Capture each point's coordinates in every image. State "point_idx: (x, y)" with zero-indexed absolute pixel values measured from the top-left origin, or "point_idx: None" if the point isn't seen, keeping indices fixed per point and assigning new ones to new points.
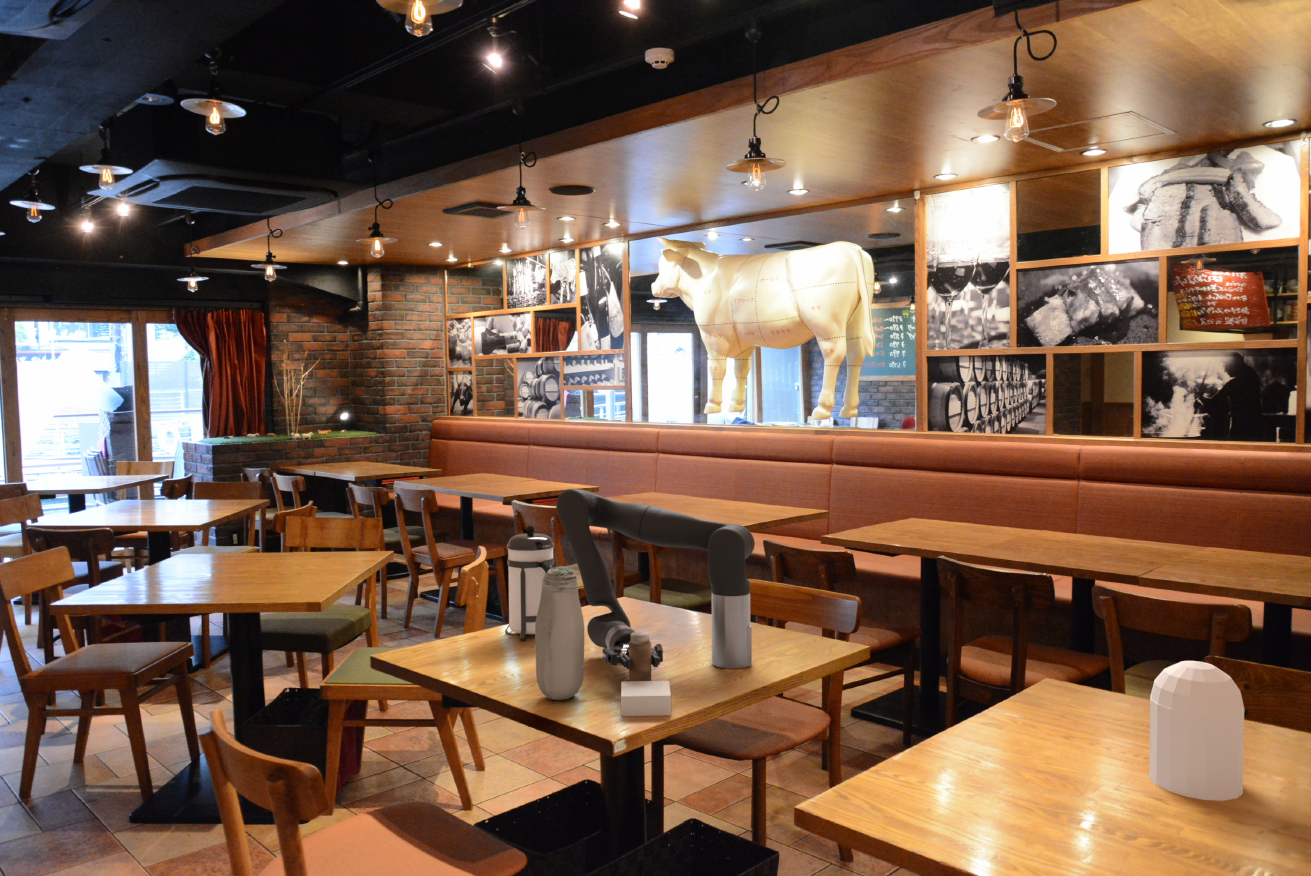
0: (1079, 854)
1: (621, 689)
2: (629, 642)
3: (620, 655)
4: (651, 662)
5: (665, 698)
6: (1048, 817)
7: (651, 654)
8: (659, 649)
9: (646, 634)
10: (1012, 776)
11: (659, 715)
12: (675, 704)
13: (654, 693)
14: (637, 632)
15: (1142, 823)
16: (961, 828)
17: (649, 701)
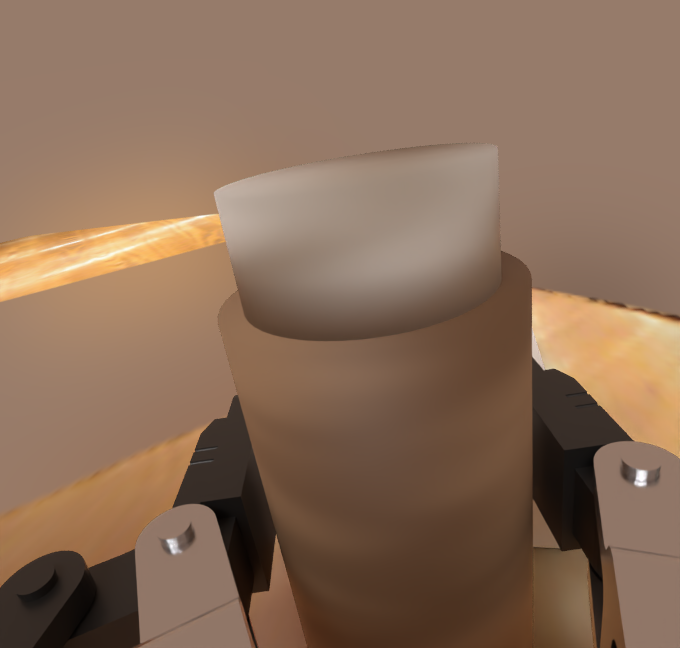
0: (129, 226)
1: (539, 354)
2: (521, 271)
3: (668, 463)
4: (269, 537)
5: None
6: (85, 243)
7: (249, 463)
8: (36, 591)
9: (272, 178)
10: (8, 273)
11: None
12: None
13: None
14: (373, 180)
15: (35, 246)
16: (168, 230)
17: None
